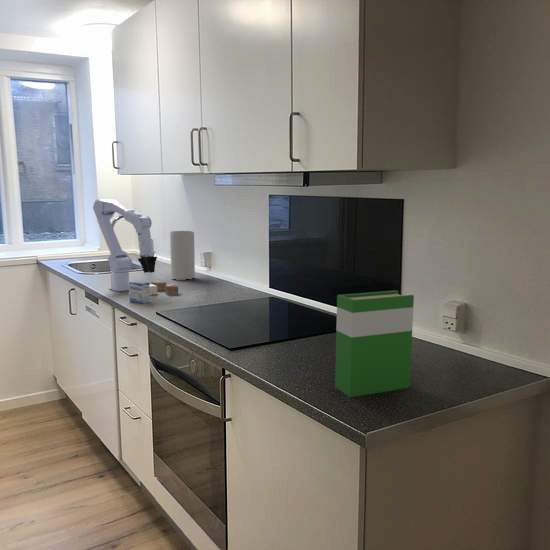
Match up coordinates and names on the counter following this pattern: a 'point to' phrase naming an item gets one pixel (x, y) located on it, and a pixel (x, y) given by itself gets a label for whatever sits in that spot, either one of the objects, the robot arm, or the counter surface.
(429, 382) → the counter surface
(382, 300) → the hardback book
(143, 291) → the medicine box
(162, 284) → the dotted block
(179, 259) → the cylinder vase
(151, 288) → the plain block
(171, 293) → the dotted block
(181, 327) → the counter surface
